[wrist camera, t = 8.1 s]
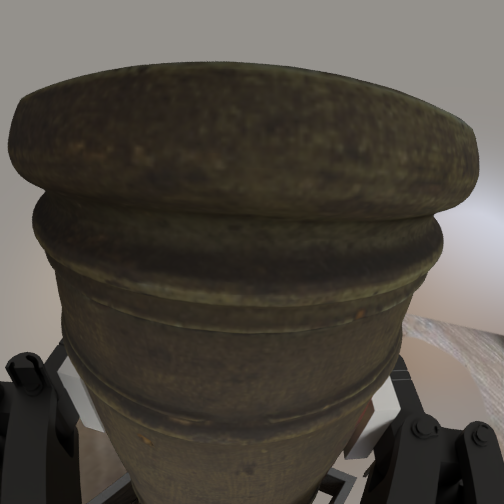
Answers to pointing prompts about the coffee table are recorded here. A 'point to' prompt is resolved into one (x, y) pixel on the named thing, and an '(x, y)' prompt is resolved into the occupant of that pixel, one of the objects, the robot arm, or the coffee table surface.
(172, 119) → the container
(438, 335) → the coffee table surface
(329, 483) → the collar
